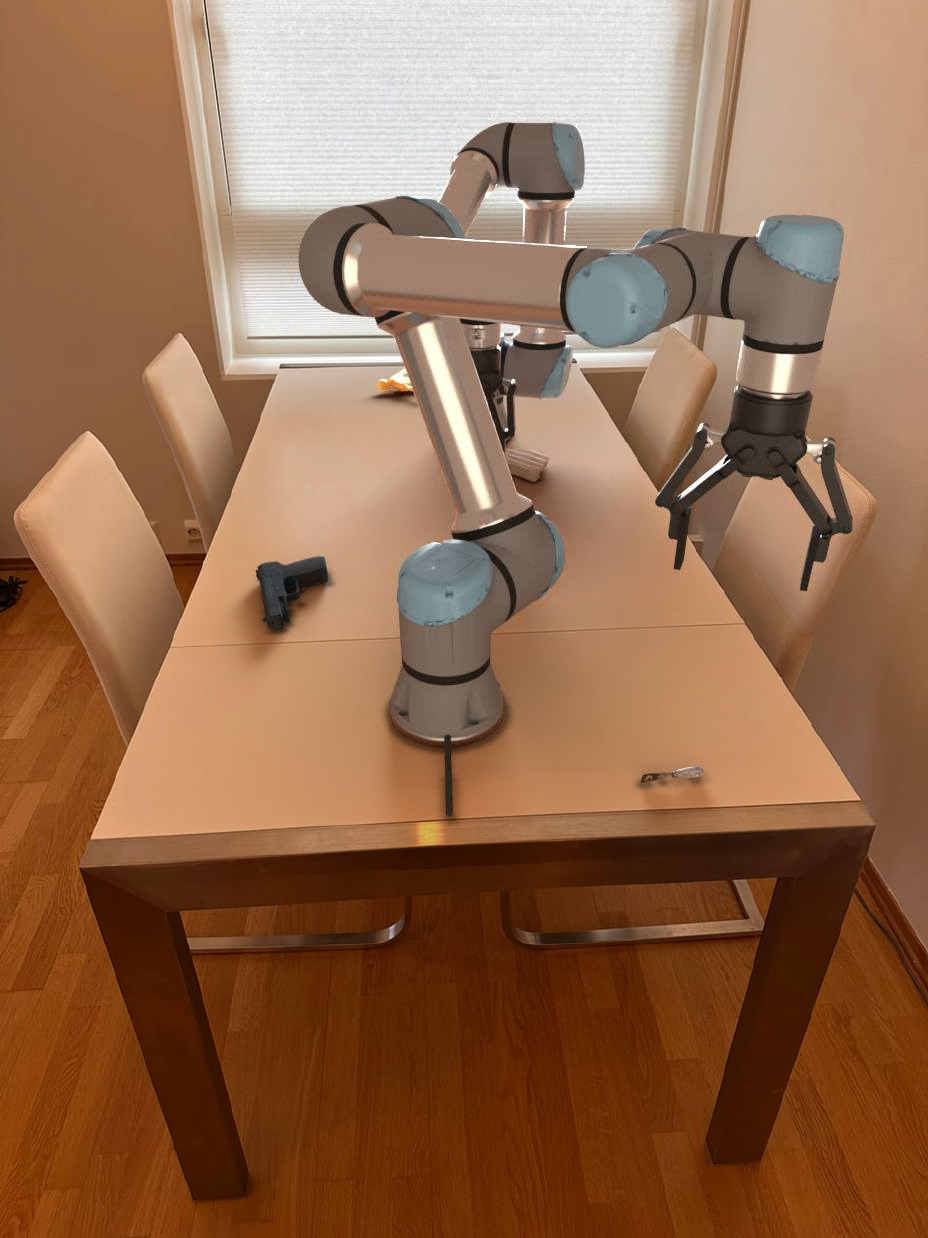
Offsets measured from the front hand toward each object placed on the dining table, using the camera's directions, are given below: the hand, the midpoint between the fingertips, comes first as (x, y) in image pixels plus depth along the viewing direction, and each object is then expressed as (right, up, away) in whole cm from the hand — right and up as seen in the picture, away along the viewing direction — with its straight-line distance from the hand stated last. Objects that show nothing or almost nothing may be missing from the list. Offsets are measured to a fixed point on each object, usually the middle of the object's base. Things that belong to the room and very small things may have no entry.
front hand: (739, 574), depth 100 cm
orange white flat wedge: (-42, +57, +141) cm, 158 cm away
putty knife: (-5, -25, +10) cm, 27 cm away
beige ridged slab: (-19, +27, +93) cm, 98 cm away
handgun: (-58, -2, +47) cm, 75 cm away
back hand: (-28, +23, +66) cm, 75 cm away
